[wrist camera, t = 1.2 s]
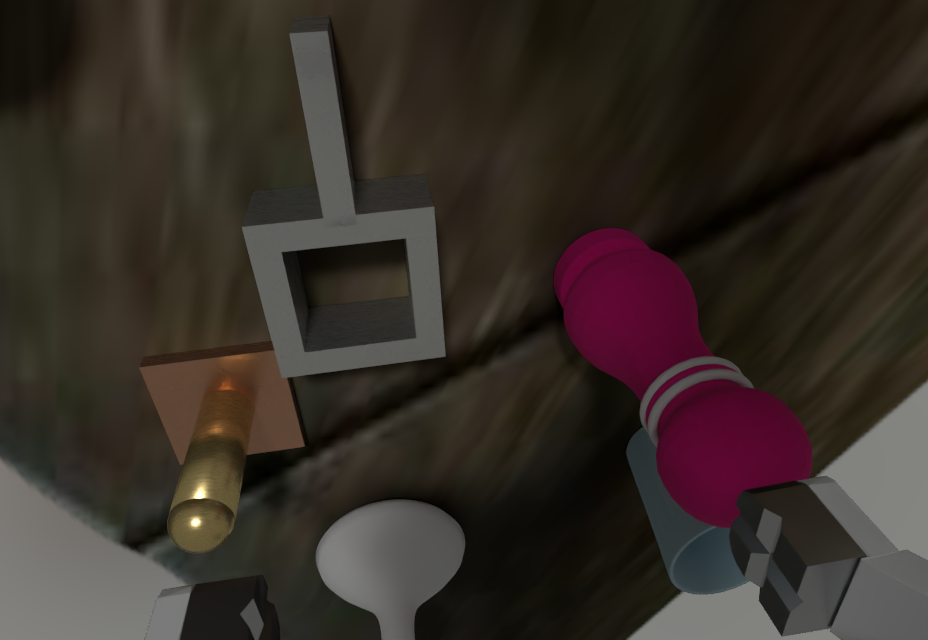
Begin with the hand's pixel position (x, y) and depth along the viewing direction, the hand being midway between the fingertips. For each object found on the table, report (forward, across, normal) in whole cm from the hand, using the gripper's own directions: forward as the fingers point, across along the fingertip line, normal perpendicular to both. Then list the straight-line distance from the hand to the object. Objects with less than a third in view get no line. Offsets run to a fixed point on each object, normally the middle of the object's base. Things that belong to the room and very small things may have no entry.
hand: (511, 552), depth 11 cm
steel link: (+26, +3, +3) cm, 26 cm away
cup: (+27, -17, +26) cm, 41 cm away
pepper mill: (+26, -12, +10) cm, 30 cm away
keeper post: (+26, +12, +15) cm, 33 cm away
